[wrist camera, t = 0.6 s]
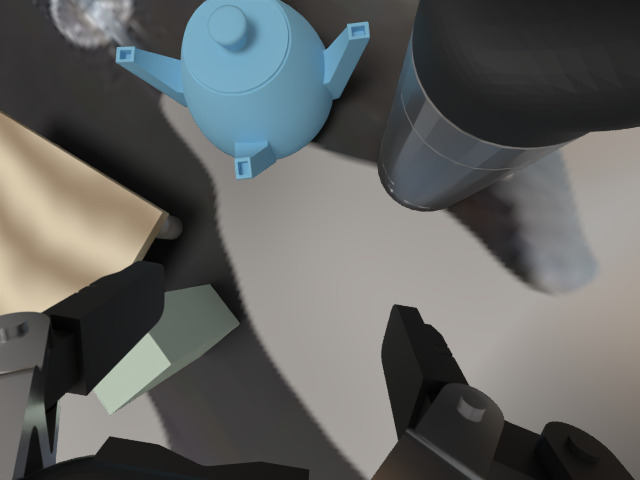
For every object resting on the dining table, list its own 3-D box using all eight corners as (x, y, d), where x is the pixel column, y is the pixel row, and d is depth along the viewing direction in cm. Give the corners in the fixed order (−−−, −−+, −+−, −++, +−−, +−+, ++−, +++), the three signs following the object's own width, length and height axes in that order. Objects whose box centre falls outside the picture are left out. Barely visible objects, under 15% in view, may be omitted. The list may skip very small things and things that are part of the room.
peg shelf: (48, 130, 34) (-15, 103, 28) (197, 220, 32) (162, 212, 26) (-26, 256, 34) (-105, 256, 28) (118, 356, 32) (64, 378, 26)
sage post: (210, 284, 32) (124, 299, 20) (240, 323, 31) (171, 364, 19) (172, 315, 32) (65, 349, 20) (201, 355, 31) (110, 415, 19)
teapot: (375, 95, 31) (388, 9, 20) (271, 205, 32) (230, 177, 21) (267, 2, 33) (228, -123, 22) (170, 107, 33) (84, 35, 22)
